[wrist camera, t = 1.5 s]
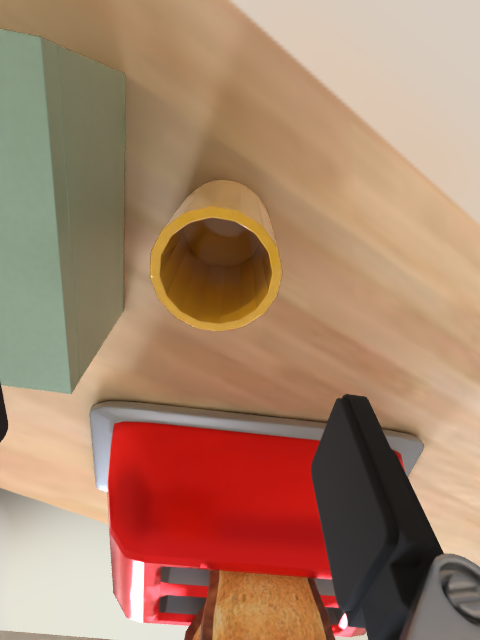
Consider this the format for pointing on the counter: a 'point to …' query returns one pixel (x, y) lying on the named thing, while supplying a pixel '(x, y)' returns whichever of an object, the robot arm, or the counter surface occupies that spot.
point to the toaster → (219, 520)
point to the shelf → (58, 210)
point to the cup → (217, 258)
